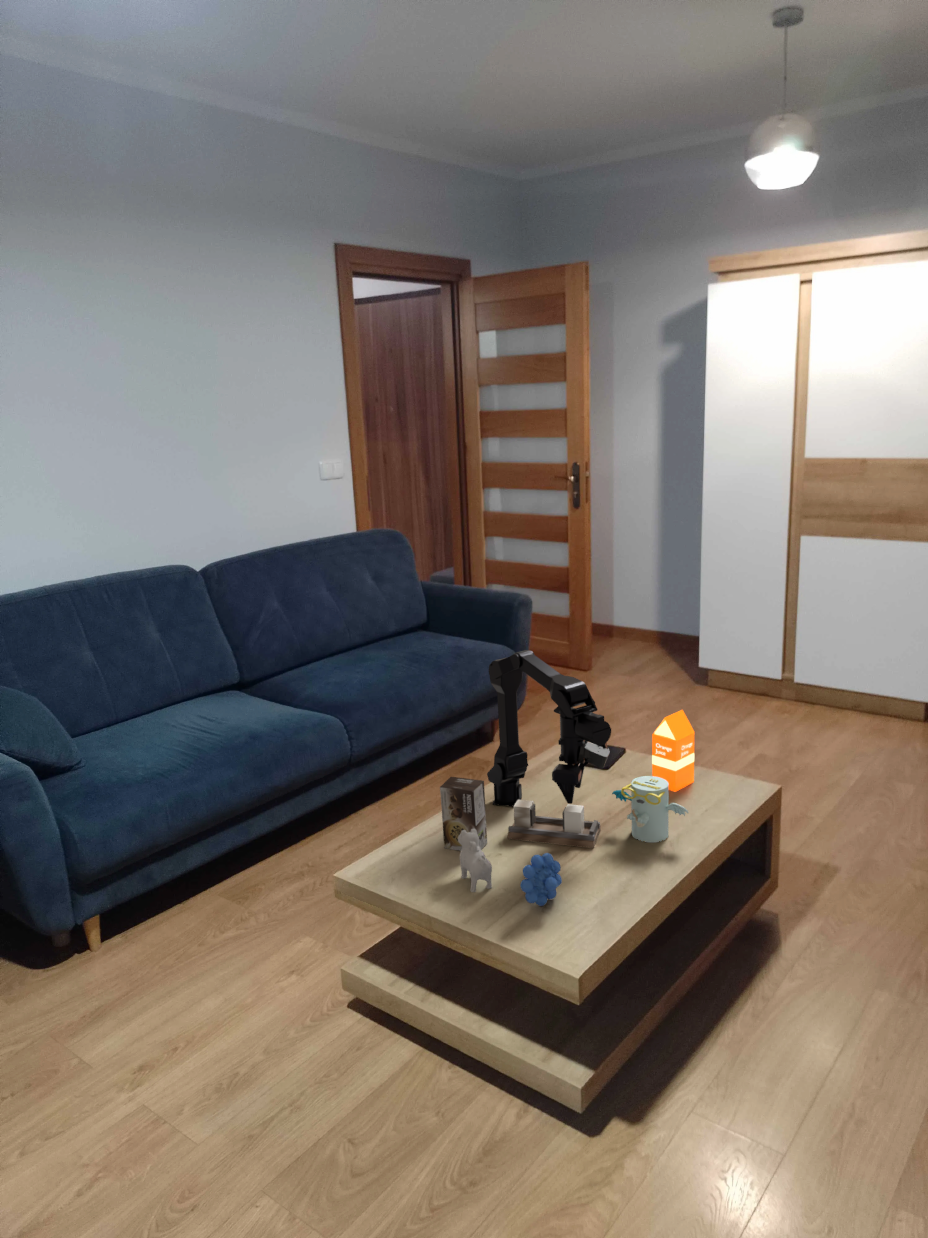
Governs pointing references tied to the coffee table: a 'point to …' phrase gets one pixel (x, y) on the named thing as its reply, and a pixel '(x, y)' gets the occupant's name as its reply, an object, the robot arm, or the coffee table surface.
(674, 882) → the coffee table surface
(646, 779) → the character sculpture
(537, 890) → the grapes
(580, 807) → the off-white square prism
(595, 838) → the rail
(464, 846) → the dog figurine
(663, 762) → the orange juice
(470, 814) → the coffee box
